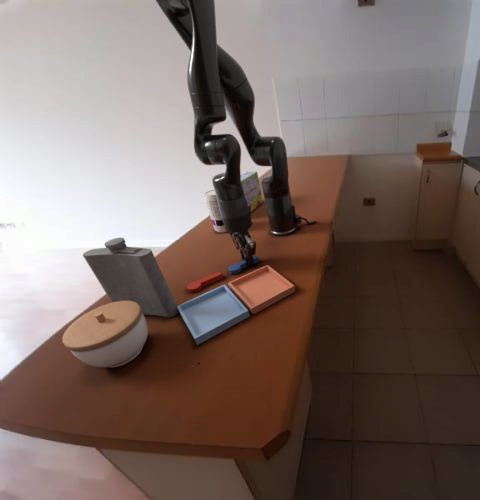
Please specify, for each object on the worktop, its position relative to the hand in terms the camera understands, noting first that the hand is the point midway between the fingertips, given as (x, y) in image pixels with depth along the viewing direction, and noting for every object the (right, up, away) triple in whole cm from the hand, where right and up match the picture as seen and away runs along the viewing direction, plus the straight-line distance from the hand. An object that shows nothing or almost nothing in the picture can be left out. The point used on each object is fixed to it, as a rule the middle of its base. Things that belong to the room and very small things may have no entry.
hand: (249, 264), depth 85 cm
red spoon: (-10, -5, -7) cm, 13 cm away
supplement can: (-17, +13, +25) cm, 32 cm away
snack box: (-13, +22, +40) cm, 48 cm away
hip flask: (-20, -11, -15) cm, 28 cm away
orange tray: (+7, -6, -11) cm, 14 cm away
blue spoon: (-1, -1, -1) cm, 2 cm away
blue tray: (-3, -11, -18) cm, 21 cm away
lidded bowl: (-18, -18, -26) cm, 37 cm away
